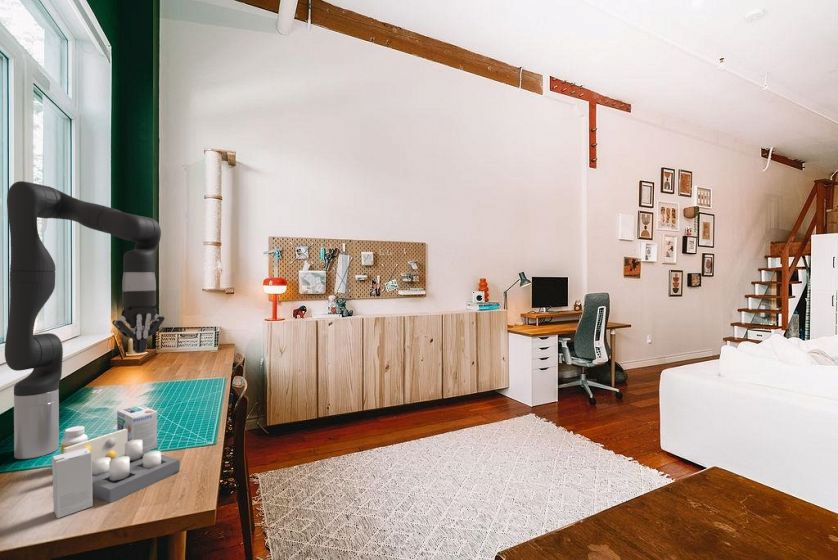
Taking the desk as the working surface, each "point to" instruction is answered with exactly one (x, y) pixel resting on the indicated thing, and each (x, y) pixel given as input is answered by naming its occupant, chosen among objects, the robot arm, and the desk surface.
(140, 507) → the desk surface
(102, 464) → the button
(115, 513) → the desk surface
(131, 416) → the light bulb box
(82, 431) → the supplement bottle
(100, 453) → the plaque
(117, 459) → the button
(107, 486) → the button board
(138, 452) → the button
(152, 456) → the button
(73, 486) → the skincare box
